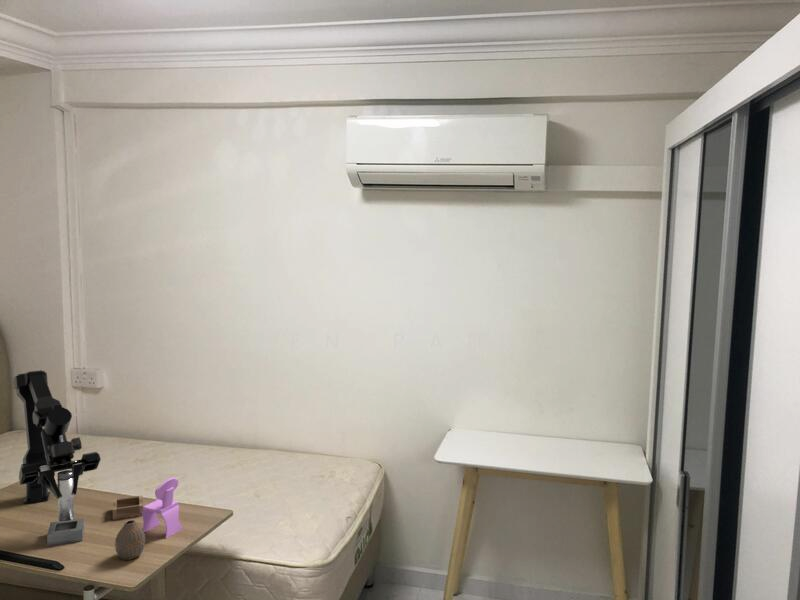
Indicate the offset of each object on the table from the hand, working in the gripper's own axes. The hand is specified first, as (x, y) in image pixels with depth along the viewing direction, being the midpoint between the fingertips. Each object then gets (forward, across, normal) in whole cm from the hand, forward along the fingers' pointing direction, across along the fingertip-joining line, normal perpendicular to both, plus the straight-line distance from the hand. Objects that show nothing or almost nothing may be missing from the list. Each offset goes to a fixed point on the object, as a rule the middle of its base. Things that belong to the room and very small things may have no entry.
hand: (67, 495), depth 158 cm
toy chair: (+16, +21, 0) cm, 26 cm away
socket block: (+7, 0, +9) cm, 12 cm away
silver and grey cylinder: (+4, 0, +6) cm, 7 cm away
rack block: (+3, +18, +13) cm, 22 cm away
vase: (+23, +9, -6) cm, 25 cm away
